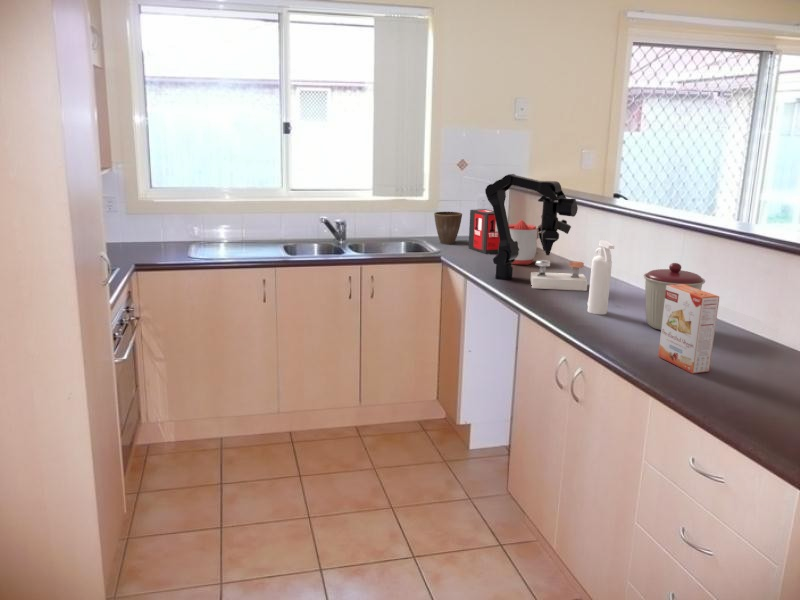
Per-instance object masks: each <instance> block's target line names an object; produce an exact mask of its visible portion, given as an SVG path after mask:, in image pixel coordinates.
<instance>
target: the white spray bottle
mask: <svg viewBox="0 0 800 600" xmlns="http://www.w3.org/2000/svg"><path fill="white" fill-rule="evenodd" d="M598 246H599V247H597V248H596V249H595V251H594V257H593V258H592V260H591V267H590V269H591V270H590V277H589V289H588V290H589V291H588V299H587V303H586V305H587V311H586V312H588V313H589V314H593V315H606V314H607V313H608V307H609V298H610V297H609V296H610V287H611V285H610V284H611V277H612V276H611V275H612V264H613V261H612V253H611V250H615V245H614V244H612V243H611V242H609V241H608V240H605V239H600V240H599V241H598ZM598 252H599V254H598Z"/></svg>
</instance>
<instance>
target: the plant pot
mask: <svg viewBox="0 0 800 600" xmlns="http://www.w3.org/2000/svg"><path fill="white" fill-rule="evenodd" d="M433 215H434V216H433V217H434V222H435V228H436V233H437V236H438V239H439V242H440V244H443V245H453V244H455V242H456V240H457V237H458V234H459V231H460V228H461V223H462V218H463V213H462V212H460V211H459V212H458V211H436V212H434V214H433Z"/></svg>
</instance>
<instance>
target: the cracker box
mask: <svg viewBox="0 0 800 600" xmlns="http://www.w3.org/2000/svg"><path fill="white" fill-rule="evenodd" d="M719 303H720V296H719V295H717V294H713V293H710V292H707V291H705V290H702V289H701V290H699V289H696V288H693V287H690V286H687V285H684V284H677V285H666V293H665V302H664V311H663V319H662V328H661V330H660V337H659V338H660V339H659V347H658V357H657V358H660V359H662V360H664V361H667V362H668V363H670V364H672V365H675V366H676V367H678V368H680V369H682V370H684V371H686V372H688V373H690V374H701V373H709V372H710V370H711V363H712V355H713V347H714V346H713V345H714V339H715V334H716V333H715V332H716V325H717V319H718V312H719V311H718V310H719Z"/></svg>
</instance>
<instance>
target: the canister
mask: <svg viewBox="0 0 800 600" xmlns="http://www.w3.org/2000/svg"><path fill="white" fill-rule="evenodd" d="M668 267H669V269H668V268H667V269H666V268H660V269H659V268H658V269H652V270H650V271H649V272H645V273H644V274H643V278H644V279H645V281H644V282H645V284H644V287H645V318H646V323H647V325H649V326H650V327H651V328H653V329H655V330H659V331H661V328H662V319H663V311H664V302H665V293H666V285H677V284H684V285H687V286H690V287H693V288H696V289H699V290H702V287H703V285H704V284H705V283H706V280H705V279H704V278H703V277H702V276H700V275H699V274H698V273H695V272H691V271H686V270H682V265H681V264H680V263H677V262H673V263H671V264H669V266H668Z"/></svg>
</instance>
